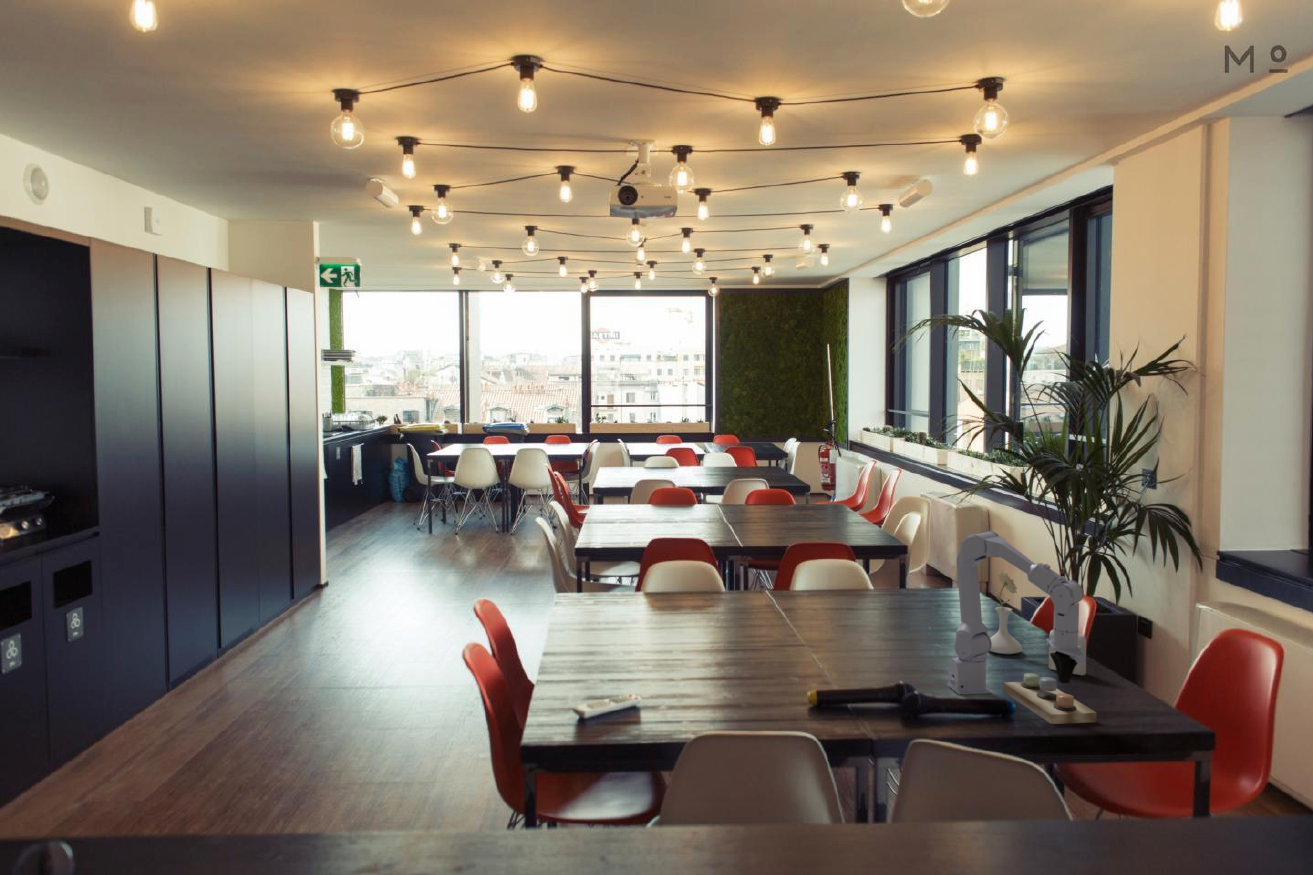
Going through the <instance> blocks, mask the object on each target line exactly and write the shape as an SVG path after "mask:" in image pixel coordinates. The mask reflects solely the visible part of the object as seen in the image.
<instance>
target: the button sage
mask: <svg viewBox="0 0 1313 875" xmlns="http://www.w3.org/2000/svg"><path fill="white" fill-rule="evenodd" d="M1040 678H1041V676H1040V675H1039V674H1036V673H1031V672H1027V673H1024V674H1023V682H1024V684H1025V685H1027V686H1031V687H1038V686H1040Z"/></svg>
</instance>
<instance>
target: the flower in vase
mask: <svg viewBox="0 0 1313 875" xmlns="http://www.w3.org/2000/svg"><path fill="white" fill-rule="evenodd" d="M1008 575H1009V574H1008V573H1004V571H1000V572H998V573H997V576H998V580H999V581H1000V582H1001V584H1002V587H1001V589H1000V592H999V595H998V594H997V595H996V598H995V599H997V600H998V601H999V602H1000V604H1001V606H997V607H995V610H996V612H997V614H998V619H999V627H998V631H997V632H996V633H995V634H993V635H992V636H991V637H990V636H989V637H990V639H991V642H992V647H991V650H990V651H989V652H992V653H996V654H1001V655H1013V654H1014V655H1015V654H1018V653H1021V652H1022V650H1023V647H1022V644H1021V643H1020V642H1019V641H1018V640H1017V639H1016V638H1014V637H1013V636H1012V635H1011V634H1010V633H1009V630H1008V621H1009V615H1010V614H1011V612H1012V611H1013V608H1010V607H1006V606H1004V604H1005V603H1007V602H1010V601H1011V600H1010V599H1007V600H1006V601H1002V598H1001V596H1002V592H1003V589H1004V588H1005V589H1006V591H1008V592H1010V593H1011V594H1017V593H1018V592H1017V589H1018V588H1017V586H1016V584H1015V583H1014V582H1015V581H1014V580H1013V579H1012V578H1011V576H1008Z"/></svg>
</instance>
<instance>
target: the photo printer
mask: <svg viewBox="0 0 1313 875" xmlns="http://www.w3.org/2000/svg"><path fill="white" fill-rule="evenodd" d="M1048 638H1053V629H1051V630H1050V632H1049V636H1048ZM1078 645H1079V646H1081V647H1082V650H1081V652H1082V653H1083V654H1084V655H1086V656H1087V637H1086V635H1085V634H1083V633H1080V632H1078ZM1055 652H1056V651H1055V650H1053V649H1052V647H1048V669H1049V670H1053V671H1057V670H1056V667H1055V664H1054V661H1053V659H1052V657H1051V656H1050V653H1055ZM1086 671H1087V659H1086V660H1085V663H1077V665H1076V666H1075V668H1074V670H1073V673H1072V675H1079V676H1085V675H1086V673H1087V672H1086Z"/></svg>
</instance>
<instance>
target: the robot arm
mask: <svg viewBox="0 0 1313 875" xmlns="http://www.w3.org/2000/svg"><path fill="white" fill-rule="evenodd" d="M960 547H961V548H960V549H959V551H958V555H957V556H956V568H957V570H956V571H957V573H956V574H957V584H958V585H957V586H958V597H959V610H960V621H961V622H960V625H959V626H958V628H957V629H956V632H955V635H956V636H955V640H954V643H953V649H954V652H955V654H956V655H957V657H955V658H951V659H949V662H948V676H947V677H948V681H947V682H948V683H947V684H946V685H947V687H949V688H950V689H952V691H954V692H955V693H956V694H958V695H960V694H962V695H984V694H992V693H993V691H992V690H990V689H989V688H988V687H986V686H987V657H988V653H989V652H991V651H990V650H991V647H992V642H991V639H990V634H989V632H988V627H987V626H986V625H985V624H984V623H983V617H982V606H981V605H982V604H981V590H980V577H979V565H981V563H982V562H983V561H985V560H986V559H987V558H1000V559H1002V560H1004V561H1005V562H1007V563H1009V564H1011V565H1012V566H1014V567H1015V568H1017V569H1018V570H1020V571H1021V572H1023V573H1025V574H1026V575H1027V576H1026V577H1027V580H1028V581H1029V582H1030V584H1033V585H1034V586H1036V587H1037V588H1038V589H1040V590H1041V591H1042V592H1043V593H1045V594H1046V595H1048V596H1049V598H1050V601H1051V602H1052V603H1053V629H1052V630H1053V638H1049V637H1047V638H1045V646H1046V647H1048V648H1049V647H1052V649H1053V650H1055V651H1056V652H1055V653H1050V656H1051V657H1052V659H1053V661H1054V664H1055V667H1056V670H1055V671H1056V675H1057V678H1058V682H1060V683H1061V684H1070V682H1071V678H1072V677H1073V676H1072V675H1073V674H1072V673H1073V670H1074V668H1075V666H1076V665H1077V663H1085V660H1086V661H1087V654H1086V655H1084V654H1083V653H1082V652H1081V650H1082V647H1081V646H1079V645H1078V633H1079V625H1080V624H1079V622H1080V621H1079V620H1080V619H1079V618H1080V617H1079V616H1080V602H1081V601H1082V600H1083V598H1084V589H1083V588H1082V586H1081V584H1079V582H1077V581H1076V580H1073V579H1071V580H1070V579H1068V580H1067V577H1066V576H1064V575H1062V576H1061V575H1060V574H1059V573H1058V572H1056V571H1055V570H1053V569H1051V565H1050V564H1048V563H1043V562H1040V563H1036V562H1034V561H1033V560H1031V559H1030V558H1028V557H1027V556H1026V555H1024V553H1022V552H1021V551H1019V550H1018V549H1017V548H1015V546H1013V545H1012V544H1010V543H1009V542H1008V540H1006V538H1005V537H1003V536H1002V535H999V534H998V533H997V532H996V531H993V530H988V531H985V532H981V533H980V532H979V533H972V534H969V535H967V536H966V537H965V538H963V539H962V540H961V541H960Z"/></svg>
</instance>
